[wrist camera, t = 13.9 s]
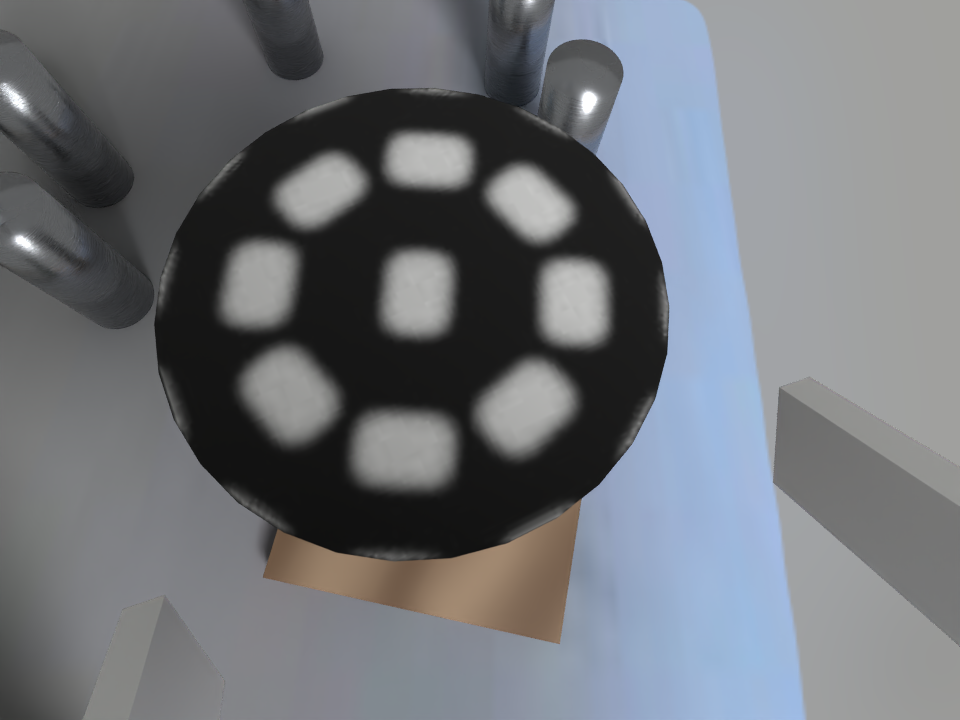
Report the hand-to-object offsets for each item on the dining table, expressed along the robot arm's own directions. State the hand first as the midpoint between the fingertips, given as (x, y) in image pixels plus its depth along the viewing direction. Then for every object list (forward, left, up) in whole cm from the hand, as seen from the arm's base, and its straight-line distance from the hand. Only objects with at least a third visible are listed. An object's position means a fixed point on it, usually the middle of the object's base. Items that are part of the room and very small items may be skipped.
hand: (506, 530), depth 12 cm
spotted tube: (-2, +3, -16) cm, 17 cm away
